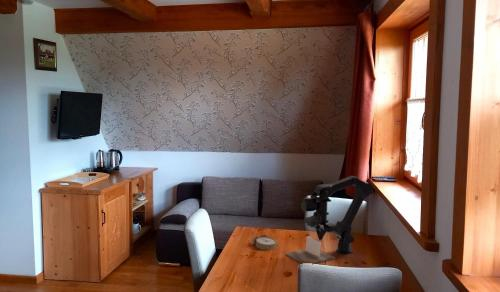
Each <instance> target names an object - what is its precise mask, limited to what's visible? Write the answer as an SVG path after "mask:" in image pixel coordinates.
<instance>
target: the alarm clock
mask: <svg viewBox="0 0 500 292" xmlns="http://www.w3.org/2000/svg"><path fill="white" fill-rule="evenodd" d="M251 242H252V244H253V246H255V247H256V248H257V249H260V250H262V251H270V250H274V249H276V248H277V247H279V244H277V242H278V241H277V239H275V238H273V237H271V236H268V235H266V234H262V235H260V236H259V235H258V236H257V235H256V236H253V238H252V240H251Z"/></svg>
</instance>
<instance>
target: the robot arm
mask: <svg viewBox="0 0 500 292" xmlns="http://www.w3.org/2000/svg"><path fill="white" fill-rule="evenodd" d="M351 186H352V187H353V186H354V187H355V189H354V197H353V198H352V201H351V202H350V204H349V207H348V208H347V211H346V213H345V215H344V217H343V218H342V220H340V221H339V220H337V221H336V224H335V223H333V222H331V223H329V220H328V215H329V214H330V213H329V212H328V203H331V202H332V199H330V198H329V197H331V196H332V195H333V194H334V193H335V192H338V191H340V190H342V189H345V188H348V187H351ZM373 190H374V188H373V185H372V184H371V183H370V182H367V181H363V180H361V179H359V178H358V177H357V176H353V175H349V176H347V177H345V178H342V179H340V180H337V181H334V182H331V183H323V184H318V185H316V186H315V188H314V190H313V191H312V193H311V195H310V196H309V197H303V198H302V201H301V203H300V208H301V210H302V212H304V213H306V212H307V213H308V212H313V215H311V216H307V217H306V218H305V219H304V223H305V224H306V225H307V226H308V227H310V228H312V229H315V232H316V235H317V238H318V239H317V240H318V241H321V242H322V241H323V238H324V237H325V234H326V233H331V232H332V233H334V235H335V236H336V239H338V243H337V249H335V252H338V253H340V254H342V255H347V254H352V253H354V251H353V250H352V244H353V243H354V241H355V237H354V236H353V235H352V230H353V228H352V227H353V226H352V225H353V223H354V220H355V219H356V216H357V214H358V212H359V211H360V208H361V206H362V204H363V202H364V200H366V199H367V198H369V196H370V195H371V194H372V192H373Z"/></svg>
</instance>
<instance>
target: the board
mask: <svg viewBox="0 0 500 292" xmlns="http://www.w3.org/2000/svg"><path fill="white" fill-rule="evenodd" d="M285 256H287V257H289V258H290V259H292V260H294V261H296V262H298V263H300V264H301V263H314V264H313V265H315V264H320V263H325V262H329V261H333V260H335V256H332V255H331V254H328V253H326V252H324V251H322V250H321V256H317V255H315V254H313V253H311V252H309V251H307V250H306V248H304V249H299V250H293V251H290V252H289V251H288V252H286V253H285Z"/></svg>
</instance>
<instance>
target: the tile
mask: <svg viewBox="0 0 500 292" xmlns="http://www.w3.org/2000/svg"><path fill="white" fill-rule="evenodd" d="M322 244H323V243H322V240H321V241H320V240H319V239H316V238H314V237H312V236H310V235H309V236H306V244H305V249H306V250H307V251H309V252H311V253H313V254H315V255H317V256H321V251H322V247H323V246H322Z"/></svg>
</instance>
